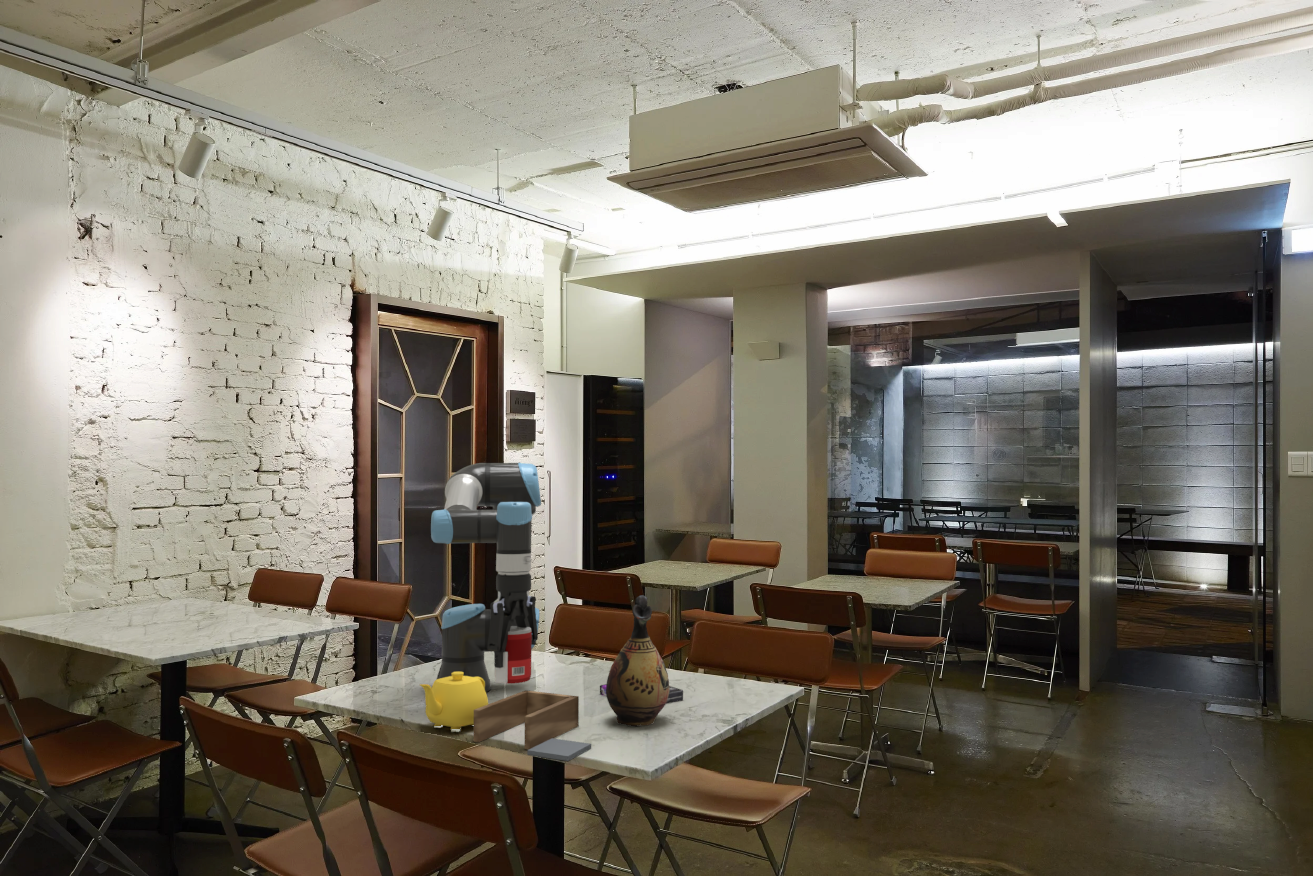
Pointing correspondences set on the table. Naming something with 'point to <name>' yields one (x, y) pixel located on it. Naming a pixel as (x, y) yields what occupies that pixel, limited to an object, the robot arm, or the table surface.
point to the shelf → (528, 716)
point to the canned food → (519, 654)
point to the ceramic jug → (638, 675)
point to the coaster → (559, 749)
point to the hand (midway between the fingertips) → (513, 678)
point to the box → (673, 695)
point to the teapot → (454, 700)
